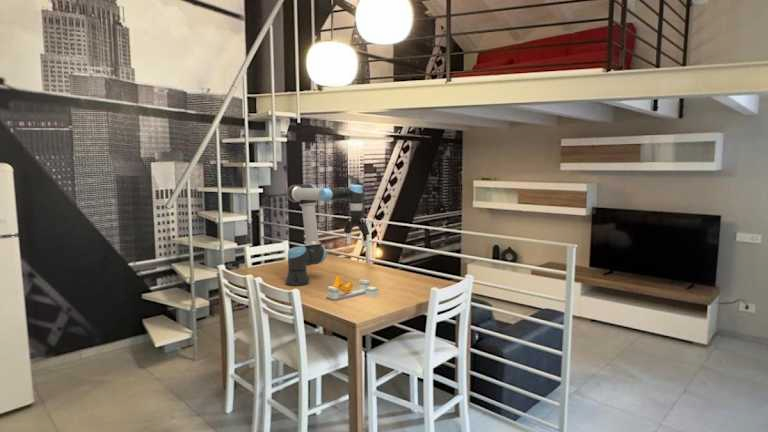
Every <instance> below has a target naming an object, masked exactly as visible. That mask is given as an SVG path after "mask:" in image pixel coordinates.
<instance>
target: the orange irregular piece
mask: <svg viewBox="0 0 768 432" xmlns="http://www.w3.org/2000/svg"><path fill="white" fill-rule="evenodd" d="M342 280H343V277H341V276H339V275H337V276H336V277H335V280H334V282H333V284H332V286H333V287H337V288H338V291H339V290H340V291H342V293H347V294H349V293H350V291H352V289H353V285H354V283H353V282H349V281H348V282H347V284H344V283H343V282H342Z"/></svg>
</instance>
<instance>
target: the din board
mask: <svg viewBox="0 0 768 432" xmlns="http://www.w3.org/2000/svg"><path fill="white" fill-rule="evenodd" d="M361 295H366V291H364V290H361V289H360V290H359V288H358V289H355V290H351V291H350V293H349V294H347V293H345V292H342V293H341V292H340V293H338V298H336V299H332V298H329V297H328V296H326V299H327V300H331V301H334V302H337V301H341V300H344V299H349V298H353V297H357V296H361Z"/></svg>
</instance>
